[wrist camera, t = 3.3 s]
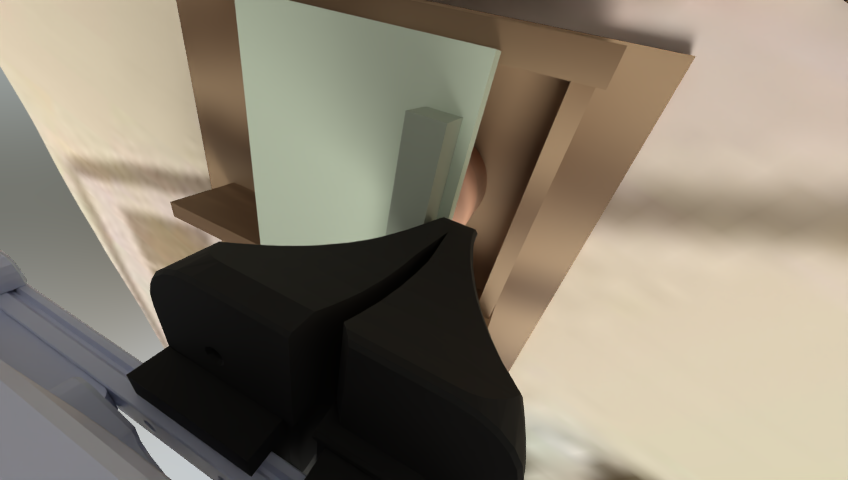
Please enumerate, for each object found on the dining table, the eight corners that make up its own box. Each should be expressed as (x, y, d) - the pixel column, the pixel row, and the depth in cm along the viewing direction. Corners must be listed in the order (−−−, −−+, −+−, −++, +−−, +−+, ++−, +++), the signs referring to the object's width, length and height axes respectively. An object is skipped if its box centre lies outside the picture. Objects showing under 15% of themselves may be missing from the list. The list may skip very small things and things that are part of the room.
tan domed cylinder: (470, 235, 16) (446, 274, 13) (392, 204, 17) (351, 233, 14) (500, 147, 14) (479, 168, 10) (406, 117, 15) (361, 128, 12)
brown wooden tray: (498, 385, 21) (481, 455, 17) (229, 249, 27) (171, 278, 23) (690, 57, 10) (762, 44, 7) (176, -51, 16) (52, -91, 12)
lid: (420, 330, 15) (399, 363, 13) (273, 257, 17) (239, 278, 15) (501, 50, 8) (483, 44, 7) (251, -8, 10) (189, -25, 9)
